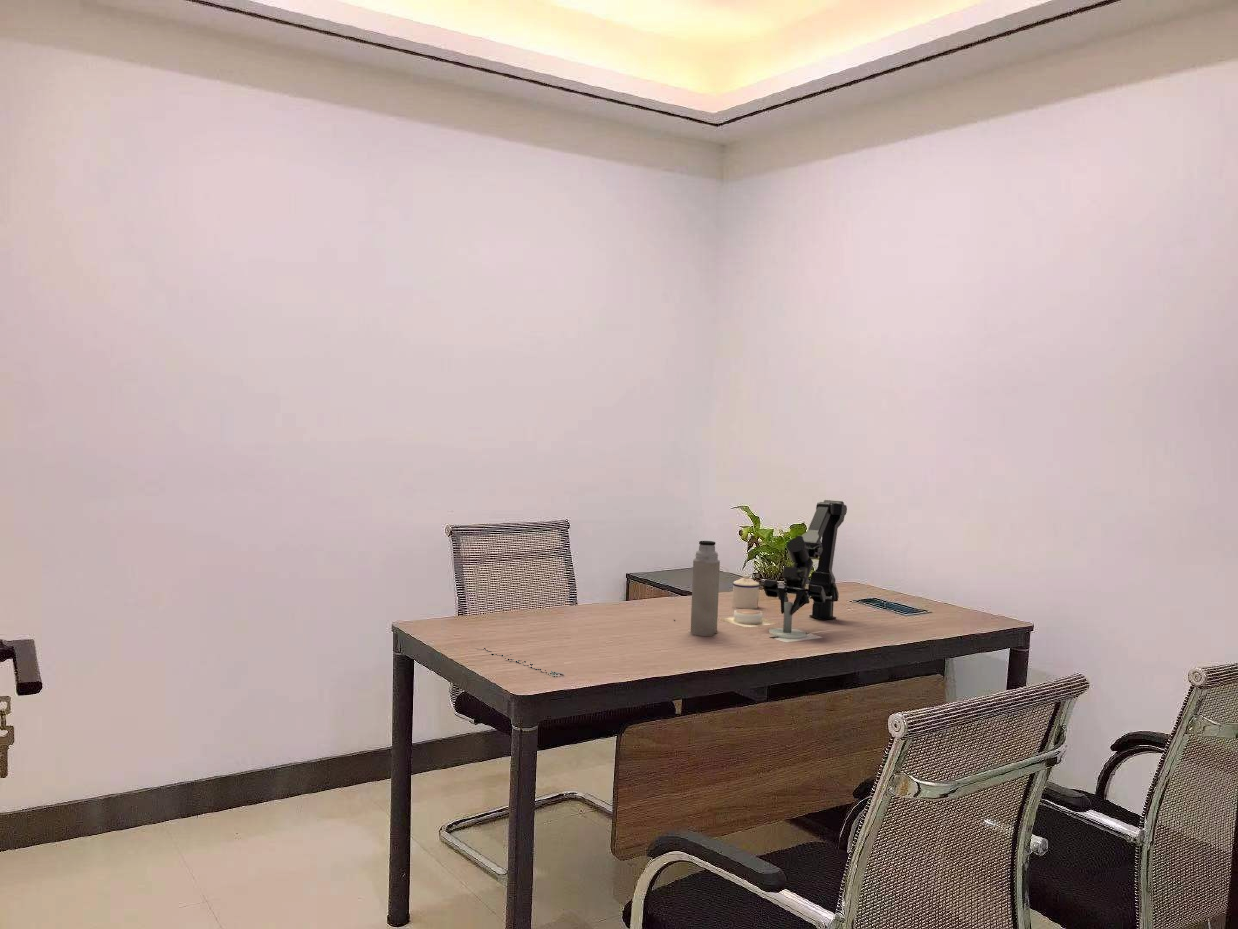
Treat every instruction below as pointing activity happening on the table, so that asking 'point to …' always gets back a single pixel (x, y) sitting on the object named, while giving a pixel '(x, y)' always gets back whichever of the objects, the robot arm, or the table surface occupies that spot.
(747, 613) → the bowl
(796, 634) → the lid
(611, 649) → the table surface
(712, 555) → the thermos bottle
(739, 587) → the teacup with lid
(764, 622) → the board
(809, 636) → the mat
